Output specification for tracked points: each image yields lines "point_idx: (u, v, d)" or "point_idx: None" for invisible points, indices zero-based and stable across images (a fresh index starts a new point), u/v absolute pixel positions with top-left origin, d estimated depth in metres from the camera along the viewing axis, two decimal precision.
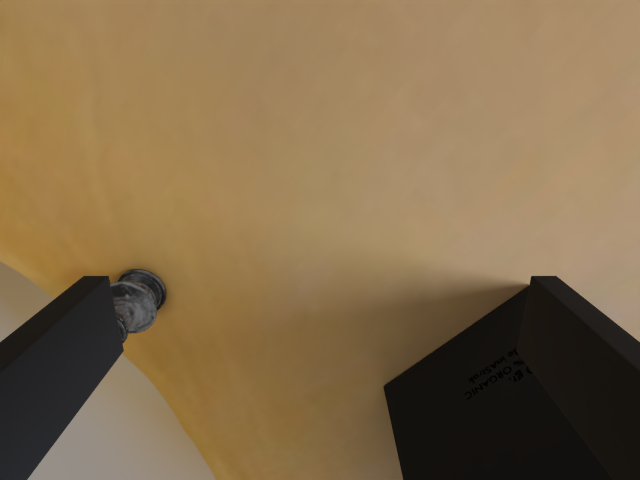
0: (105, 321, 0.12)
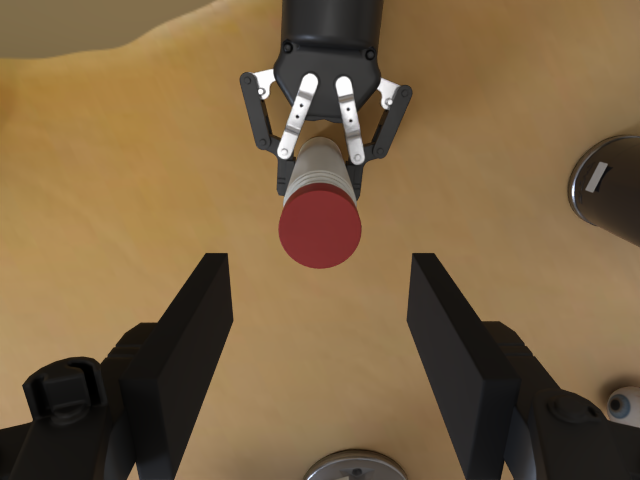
0: (226, 292, 0.14)
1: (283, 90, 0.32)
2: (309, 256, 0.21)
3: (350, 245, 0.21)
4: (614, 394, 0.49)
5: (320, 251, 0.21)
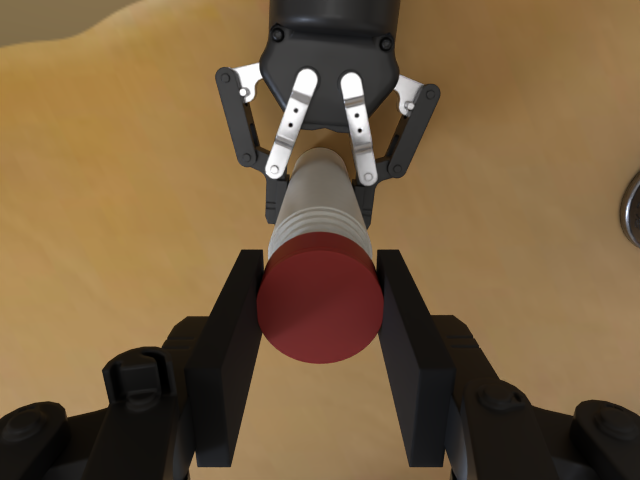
0: None
1: (272, 90, 0.24)
2: (304, 346, 0.13)
3: (367, 331, 0.13)
4: None
5: (320, 339, 0.13)
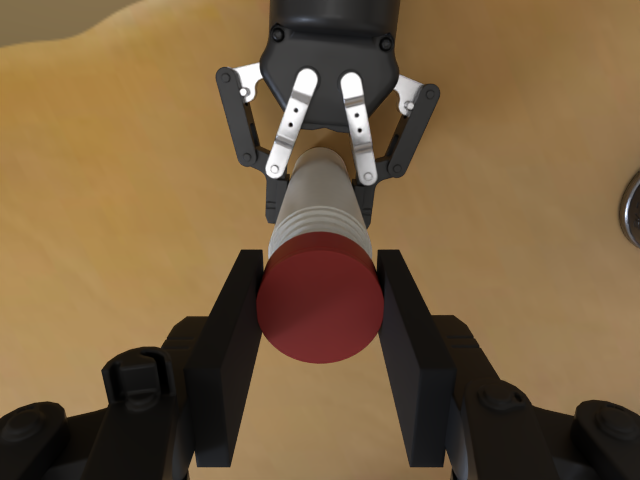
0: None
1: (272, 90, 0.24)
2: (361, 325, 0.13)
3: (346, 266, 0.12)
4: None
5: (354, 310, 0.13)
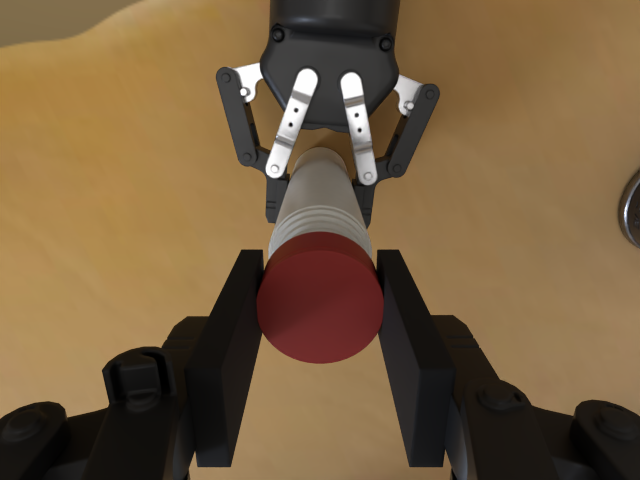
0: None
1: (273, 90, 0.25)
2: (339, 272, 0.13)
3: (272, 285, 0.13)
4: None
5: (321, 279, 0.13)
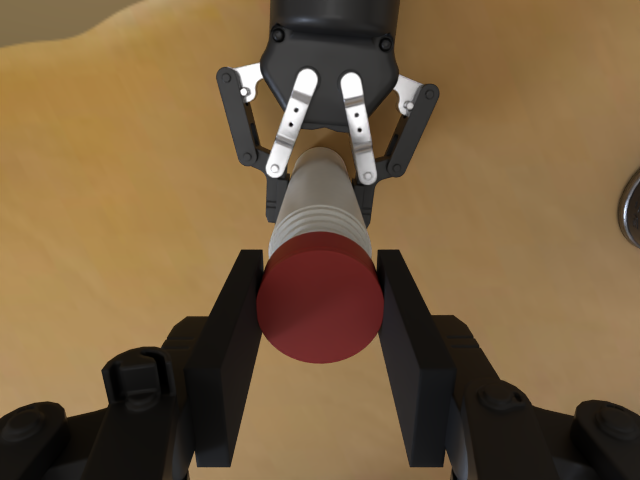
0: None
1: (273, 90, 0.25)
2: (278, 292, 0.13)
3: (292, 348, 0.14)
4: None
5: (285, 308, 0.13)
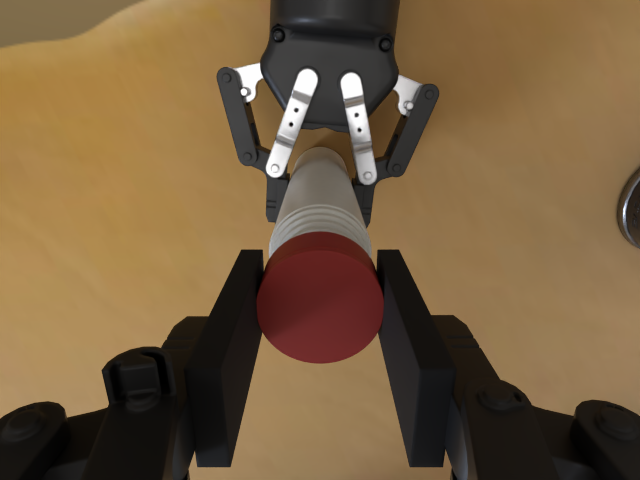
0: None
1: (273, 90, 0.25)
2: (299, 344, 0.13)
3: (364, 335, 0.13)
4: None
5: (316, 339, 0.13)
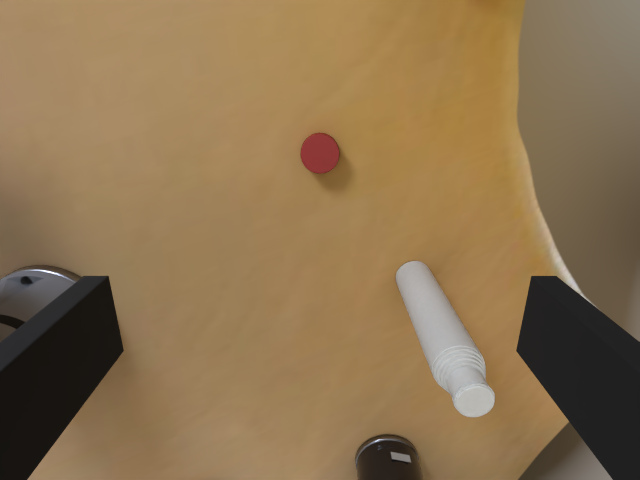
0: (105, 321, 0.12)
1: None
2: (313, 166, 0.44)
3: (333, 163, 0.44)
4: None
5: (319, 164, 0.44)
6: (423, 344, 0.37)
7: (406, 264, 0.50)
